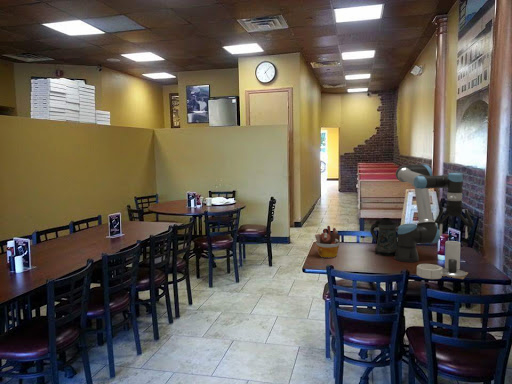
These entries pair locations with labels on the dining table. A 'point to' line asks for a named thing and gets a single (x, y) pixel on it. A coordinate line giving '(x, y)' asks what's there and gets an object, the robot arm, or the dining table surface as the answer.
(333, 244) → the bucket of meat
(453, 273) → the lid
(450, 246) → the cup
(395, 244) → the beer stein
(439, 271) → the bowl
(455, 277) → the plate
